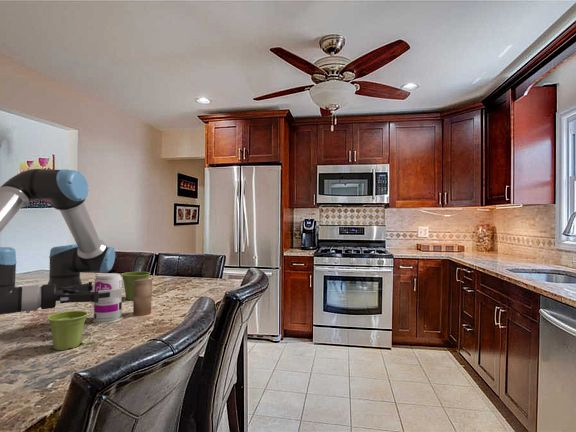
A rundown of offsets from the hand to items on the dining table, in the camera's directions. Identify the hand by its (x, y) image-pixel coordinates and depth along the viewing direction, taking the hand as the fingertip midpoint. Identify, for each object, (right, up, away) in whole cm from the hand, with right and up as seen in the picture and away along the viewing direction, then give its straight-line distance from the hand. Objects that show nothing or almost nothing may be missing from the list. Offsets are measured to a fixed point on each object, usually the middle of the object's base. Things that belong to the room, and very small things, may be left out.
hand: (116, 289), depth 113 cm
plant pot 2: (-9, -12, +32) cm, 35 cm away
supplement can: (-2, -10, -2) cm, 10 cm away
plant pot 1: (-2, -11, -23) cm, 25 cm away
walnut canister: (+7, -10, +5) cm, 13 cm away
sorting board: (+2, -11, +2) cm, 11 cm away
